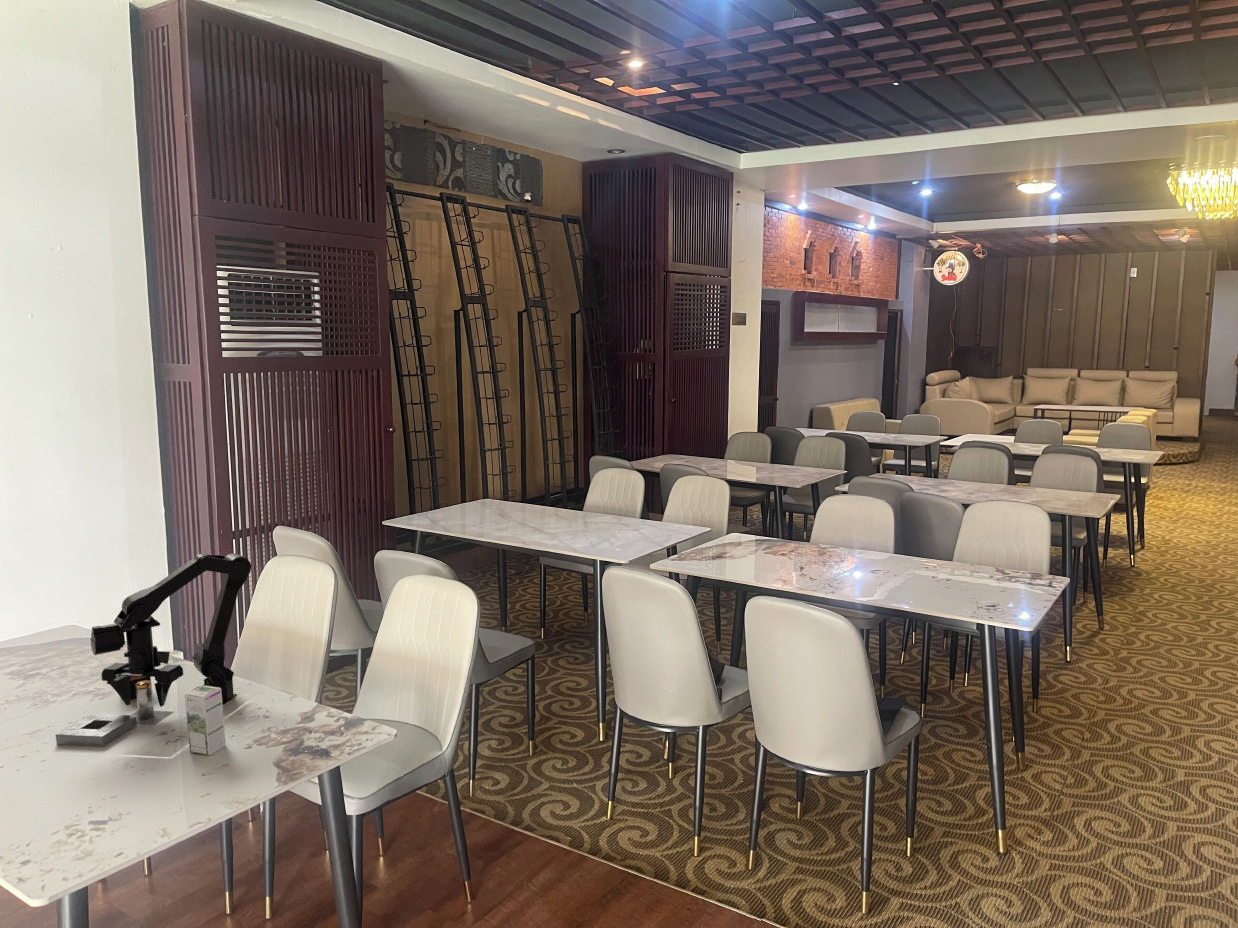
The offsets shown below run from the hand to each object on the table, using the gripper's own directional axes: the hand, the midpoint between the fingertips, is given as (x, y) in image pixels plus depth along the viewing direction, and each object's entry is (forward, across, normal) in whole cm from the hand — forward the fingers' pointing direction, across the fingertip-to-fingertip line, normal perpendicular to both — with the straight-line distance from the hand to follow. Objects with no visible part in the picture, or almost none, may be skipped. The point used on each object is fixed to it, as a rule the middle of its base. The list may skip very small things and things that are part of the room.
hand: (145, 705), depth 227 cm
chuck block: (+4, +5, +11) cm, 13 cm away
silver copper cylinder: (+3, 0, 0) cm, 3 cm away
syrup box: (+4, -26, +15) cm, 30 cm away
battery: (+4, +12, -13) cm, 18 cm away
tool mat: (+4, 0, 0) cm, 4 cm away
